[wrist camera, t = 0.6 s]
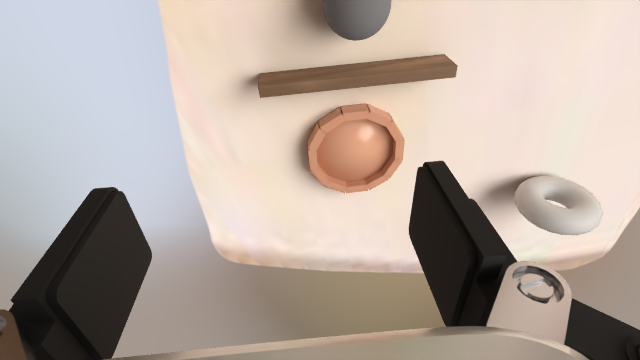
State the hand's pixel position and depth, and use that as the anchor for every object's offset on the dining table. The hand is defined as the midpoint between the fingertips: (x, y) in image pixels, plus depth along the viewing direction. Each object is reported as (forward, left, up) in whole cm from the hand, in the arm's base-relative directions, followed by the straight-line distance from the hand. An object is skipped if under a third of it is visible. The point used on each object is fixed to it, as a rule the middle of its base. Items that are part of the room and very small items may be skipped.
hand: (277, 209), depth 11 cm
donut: (+25, +33, -29) cm, 50 cm away
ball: (-1, +7, -25) cm, 26 cm away
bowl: (+16, +7, -28) cm, 33 cm away
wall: (+6, +7, -28) cm, 30 cm away
